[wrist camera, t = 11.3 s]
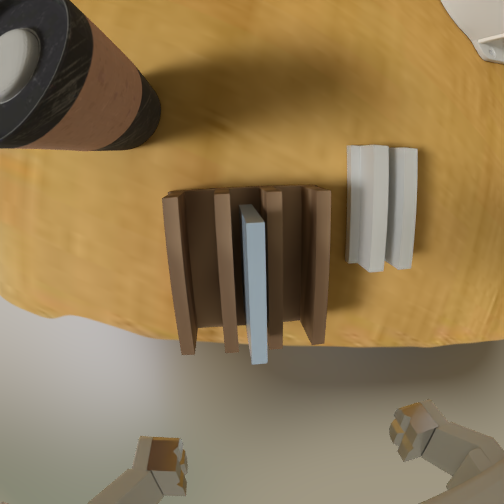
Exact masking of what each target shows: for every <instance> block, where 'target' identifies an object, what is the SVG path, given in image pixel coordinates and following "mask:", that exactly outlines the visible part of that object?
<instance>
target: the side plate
mask: <svg viewBox="0 0 504 504" xmlns="http://www.w3.org/2000/svg"><path fill="white" fill-rule="evenodd" d="M239 223H240V245H241V267H242V288H243V308H244V317H245V324H246V330H247V336H248V342H249V348H250V355H251V361H252V364H262V363H267V301H266V254H265V222H264V221H263V219H262V218H261V216H260V215H259V214H258V212H257V211H256V209H255V208H254V207H253V205H252V204H246V205H239Z"/></svg>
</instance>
